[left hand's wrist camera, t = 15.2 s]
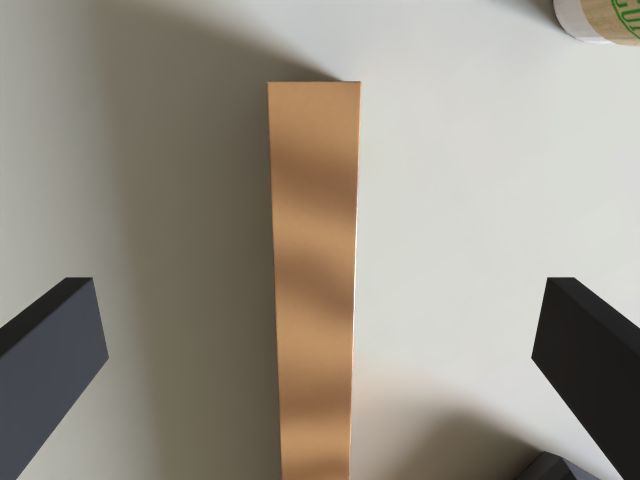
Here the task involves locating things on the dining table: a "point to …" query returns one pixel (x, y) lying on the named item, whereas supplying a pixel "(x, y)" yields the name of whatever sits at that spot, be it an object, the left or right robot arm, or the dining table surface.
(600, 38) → the coffee cup
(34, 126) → the dining table surface
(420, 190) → the dining table surface
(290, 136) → the bar
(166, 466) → the dining table surface
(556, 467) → the electronic device
